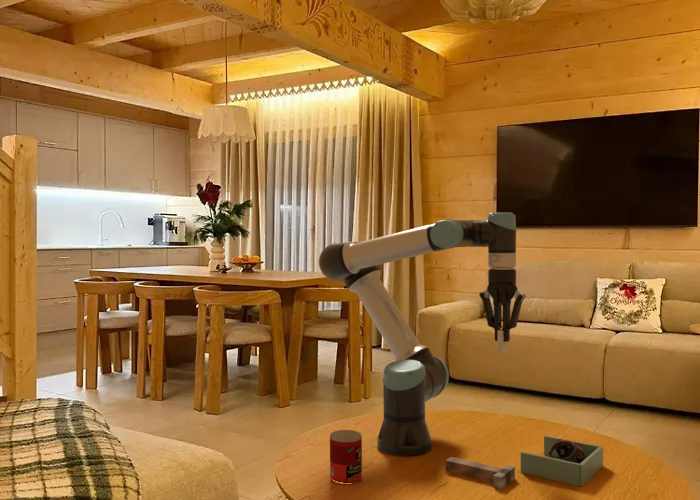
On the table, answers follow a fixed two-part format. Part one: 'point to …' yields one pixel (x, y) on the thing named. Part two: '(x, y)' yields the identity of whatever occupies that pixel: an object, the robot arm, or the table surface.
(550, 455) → the pottery mug
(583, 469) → the green u-shaped frame
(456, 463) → the hammer
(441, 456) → the table surface
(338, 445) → the canned food
